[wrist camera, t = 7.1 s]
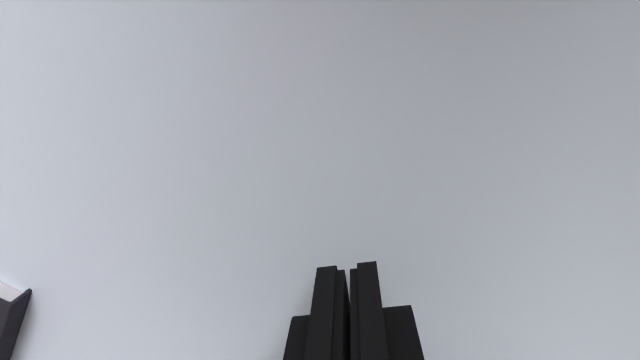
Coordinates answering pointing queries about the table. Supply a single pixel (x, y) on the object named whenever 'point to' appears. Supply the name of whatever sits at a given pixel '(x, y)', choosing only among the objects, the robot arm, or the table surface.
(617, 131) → the table surface
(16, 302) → the notebook
